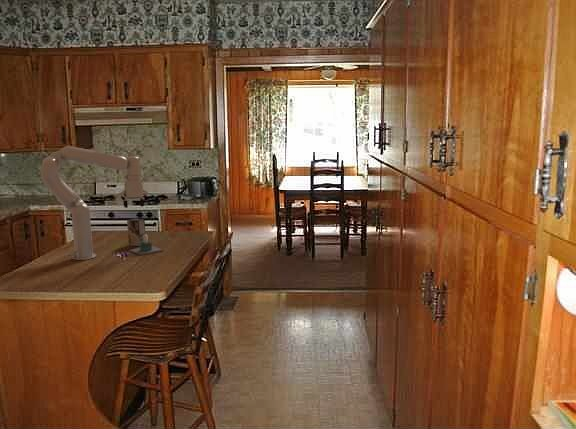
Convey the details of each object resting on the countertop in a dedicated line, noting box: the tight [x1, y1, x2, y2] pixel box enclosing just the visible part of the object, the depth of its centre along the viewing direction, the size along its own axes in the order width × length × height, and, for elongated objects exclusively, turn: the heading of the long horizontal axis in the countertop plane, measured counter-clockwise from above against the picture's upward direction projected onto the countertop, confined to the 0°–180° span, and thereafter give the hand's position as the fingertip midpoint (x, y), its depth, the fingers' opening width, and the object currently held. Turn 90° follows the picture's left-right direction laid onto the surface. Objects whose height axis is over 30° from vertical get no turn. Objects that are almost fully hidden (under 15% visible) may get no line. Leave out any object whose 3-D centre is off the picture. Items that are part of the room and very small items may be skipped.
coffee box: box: [126, 218, 146, 247], centre depth 309 cm, size 9×6×16 cm
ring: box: [139, 240, 153, 251], centre depth 292 cm, size 7×7×4 cm
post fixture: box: [129, 234, 164, 256], centre depth 292 cm, size 14×14×10 cm
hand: (133, 206), depth 290 cm, fingers open, 9 cm apart
